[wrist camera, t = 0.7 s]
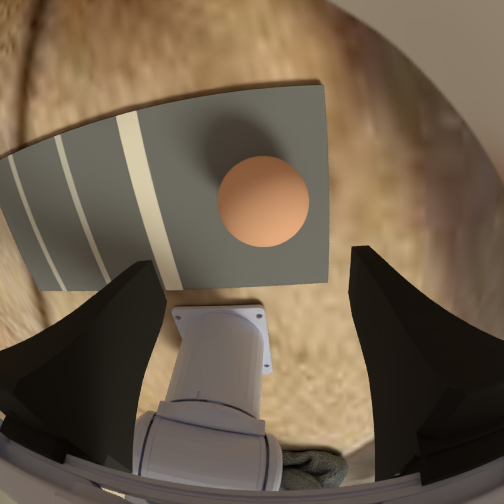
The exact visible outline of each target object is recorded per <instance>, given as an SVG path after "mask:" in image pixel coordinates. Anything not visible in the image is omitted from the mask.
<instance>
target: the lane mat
mask: <svg viewBox="0 0 504 504" xmlns="http://www.w3.org/2000/svg"><path fill="white" fill-rule="evenodd" d="M256 156H270V157H275V158H278V159H281V160H283V161H285V162H287V163H288V164H290V165H291V166H292V167H294V168H295V169H296V170H297V171H298V173H299V174H300V175H301V177H302V178H303V180H304V182H305V184H306V187H307V190H308V195H309V209H308V213H307V217H306V219H305V221H304V223H303V225H302V227H301V228H300V229H299V231H298V232H297V233H296V234H295V235H294V236H293V237H291V238H290V239H288V240H287V241H285V242H283V243H281V244H278V245H275V246H270V247H256V246H252V245H248V244H246V243H244V242H241V241H240V240H238V239H237V238H235V237H234V236H233V235H232V234H231V233H230V232H229V231H228V230H227V229H226V227H225V226H224V224H223V222H222V220H221V217H220V215H219V211H218V203H217V200H218V192H219V188H220V185H221V183H222V181H223V179H224V177H225V176H226V174H227V173H228V172H229V171H230V170H231V169H232V168H233V167H234V166H235V165H236V164H238V163H240V162H241V161H243V160H246V159H248V158H251V157H256ZM0 206H1V209H2V211H3V214H4V216H5V219H6V221H7V224H8V226H9V229H10V231H11V233H12V235H13V238H14V240H15V242H16V244H17V247H18V249H19V251H20V253H21V255H22V257H23V259H24V261H25V263H26V265H27V267H28V269H29V271H30V273H31V275H32V277H33V279H34V281H35V282H36V284H37V286H38V288H39V290H40V291H100V290H101V289H102V288H104V287H105V286H106V285H107V284H108V283H110V282H111V281H112V280H113V279H115V278H116V277H117V276H118V275H119V274H121V273H122V272H123V271H124V270H126V269H127V268H128V267H130V266H131V265H132V264H134V263H135V262H137V261H145V260H152V262H153V265H154V268H155V270H156V273H157V276H158V279H159V282H160V284H161V287H162V290H183V289H213V288H238V287H259V286H278V285H296V284H312V283H327V282H328V268H329V167H328V141H327V122H326V107H325V93H324V85H302V86H285V87H272V88H261V89H251V90H242V91H234V92H227V93H220V94H213V95H207V96H201V97H195V98H190V99H185V100H179V101H175V102H170V103H165V104H161V105H156V106H152V107H148V108H143V109H139V110H136V111H132V112H128V113H124V114H121V115H117V116H113V117H110V118H107V119H103V120H100V121H97V122H94V123H91V124H87V125H84V126H81V127H78V128H76V129H73V130H70V131H67V132H64V133H62V134H59V135H56V136H54V137H51V138H48V139H46V140H43V141H41V142H38V143H36V144H34V145H31V146H29V147H26V148H24V149H22V150H20V151H17V152H15V153H13V154H11V155H9V156H6V157H4V158H2V159H0Z"/></svg>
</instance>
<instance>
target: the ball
mask: <svg viewBox="0 0 504 504" xmlns="http://www.w3.org/2000/svg"><path fill="white" fill-rule="evenodd" d="M217 203H218V211H219V215H220V217H221V220H222V222H223V224H224V226H225V227H226V229H227V230H228V231H229V232H230V233H231V234H232V235H233V236H234V237H235V238H237V239H238V240H240V241H241V242H244V243H246V244H248V245H252V246H256V247H270V246H275V245H278V244H281V243H283V242H285V241H287V240H288V239H290V238H291V237H293V236H294V235H295V234H296V233H297V232H298V231H299V229H300V228H301V227H302V225H303V223H304V221H305V219H306V217H307V213H308V209H309V195H308V190H307V187H306V184H305V182H304V180H303V178H302V177H301V175H300V174H299V173H298V171H297V170H296V169H295V168H294V167H292V166H291V165H290V164H288V163H287V162H285V161H283V160H281V159H278V158H275V157H270V156H256V157H251V158H248V159H246V160H243V161H241V162H240V163H238V164H236V165H235V166H234V167H233V168H232V169H231V170H230V171H229V172H228V173H227V174H226V176H225V177H224V179H223V181H222V183H221V185H220V188H219V192H218V200H217Z"/></svg>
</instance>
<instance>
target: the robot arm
mask: <svg viewBox="0 0 504 504" xmlns="http://www.w3.org/2000/svg"><path fill="white" fill-rule="evenodd" d="M348 294H349V300H350V306H351V312H352V317H353V321H354V324H355V328H356V331H357V335H358V338H359V342H360V345H361V349H362V352H363V356H364V360H365V363H366V367H367V372H368V377H369V383H370V391H371V399H372V409H373V420H374V436H375V482H372V483H366V484H359V485H352V486H345V487H336V488H326V489H313V490H293V491H279V487H280V483H281V477H282V466H283V459H282V450H281V447H280V444H279V443H278V442H277V440H276V438H275V437H274V436H273V435H272V434H269V433H265V421H264V420H259V419H260V404H261V389H262V374H270V373H272V371H273V368H272V360H271V352H270V344H269V336H268V328H267V320H266V312H265V307H264V306H262V305H234V306H192V307H174V308H173V309H172V311H171V313H172V316H173V318H174V321H175V323H176V326H177V328H178V331H179V333H180V336H181V338H182V342H181V346H180V349H179V352H178V356H177V359H176V363H175V366H174V370H173V373H172V377H171V380H170V384H169V388H168V391H167V395H166V398H165V401H160V403H159V406H158V410H157V413H156V412H153V411H147V412H146V413H145V414H143V415H141V416H140V417H138V419H137V420H136V414H137V407H138V401H139V396H140V391H141V386H142V381H143V378H144V374H145V371H146V368H147V365H148V362H149V360H150V357H151V354H152V351H153V348H154V346H155V343H156V340H157V337H158V335H159V332H160V329H161V326H162V323H163V318H164V314H165V309H166V304H167V300H166V298H165V295H164V292H163V290H162V287H161V284H160V282H159V279H158V276H157V273H156V270H155V268H154V265H153V262H152V260H145V261H137V262H135V263H134V264H132V265H131V266H130V267H128V268H127V269H126V270H124V271H123V272H122V273H121V274H119V275H118V276H117V277H116V278H115V279H113V280H112V281H111V282H110V283H108V284H107V285H106V286H105V287H104V288H102V289H101V290H100V291H99V292H98V293H96V294H95V295H94V296H92V297H91V298H90V299H89V300H87V301H86V302H85V303H84V304H82V305H81V306H80V307H78V308H77V309H76V310H74V311H73V312H72V313H70V314H69V315H67V316H66V317H64V318H63V319H61V320H60V321H58V322H57V323H55V324H54V325H52V326H50V327H48V328H47V329H45V330H43V331H42V332H40V333H38V334H36V335H35V336H33V337H31V338H29V339H27V340H25V341H23V342H20V343H18V344H16V345H14V346H11V347H9V348H6V349H4V350H1V351H0V411H1V412H3V413H4V414H5V415H6V417H5V419H4V421H3V420H1V419H0V490H1V491H2V492H4V493H5V494H6V495H7V496H9V497H10V498H11V499H12V500H14V501H15V502H16V503H17V504H504V340H501V339H499V338H496V337H494V336H492V335H490V334H488V333H486V332H484V331H482V330H480V329H478V328H476V327H474V326H472V325H470V324H468V323H467V322H465V321H463V320H462V319H460V318H458V317H456V316H455V315H453V314H452V313H450V312H448V311H447V310H445V309H444V308H442V307H441V306H440V305H438V304H437V303H435V302H434V301H432V300H431V299H430V298H428V297H427V296H426V295H424V294H423V293H422V292H421V291H419V290H418V289H417V288H416V287H414V286H413V285H412V284H411V283H409V282H408V281H407V280H406V279H405V278H404V277H403V276H401V275H400V274H399V273H398V272H397V271H396V270H395V269H394V268H392V267H391V266H390V265H389V264H388V263H387V262H386V261H385V260H384V259H383V258H382V257H381V256H380V255H379V254H377V253H376V252H375V251H374V250H373V249H372V248H371V247H370V246H369V245H367V246H353V247H352V249H351V265H350V278H349V290H348ZM257 314H261V315H257ZM179 316H180V317H179ZM135 420H136V422H135ZM101 487H102V488H106V489H108V490H111V491H115V492H118V493H122V494H125V499H123V498H122V497H120V496H117V495H115V494H112V493H109V492H107V491H104V490H102V488H101Z"/></svg>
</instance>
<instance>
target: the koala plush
mask: <svg viewBox="0 0 504 504" xmlns="http://www.w3.org/2000/svg"><path fill="white" fill-rule="evenodd" d="M282 459H283V466H282V477H281V483H280V487H279V491H293V490H313V489H326V488H336V487H339V486H340V485H341V483H342V482H343V480H344V478H345V477H346V475H347V472H348V465H347V463H346V460H345V459H344V458H342V457H341V456H339V455H332V454H331V453H327V452H326V451H314V450H313V451H312V450H310V451H305V452H291V451H283V450H282Z"/></svg>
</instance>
